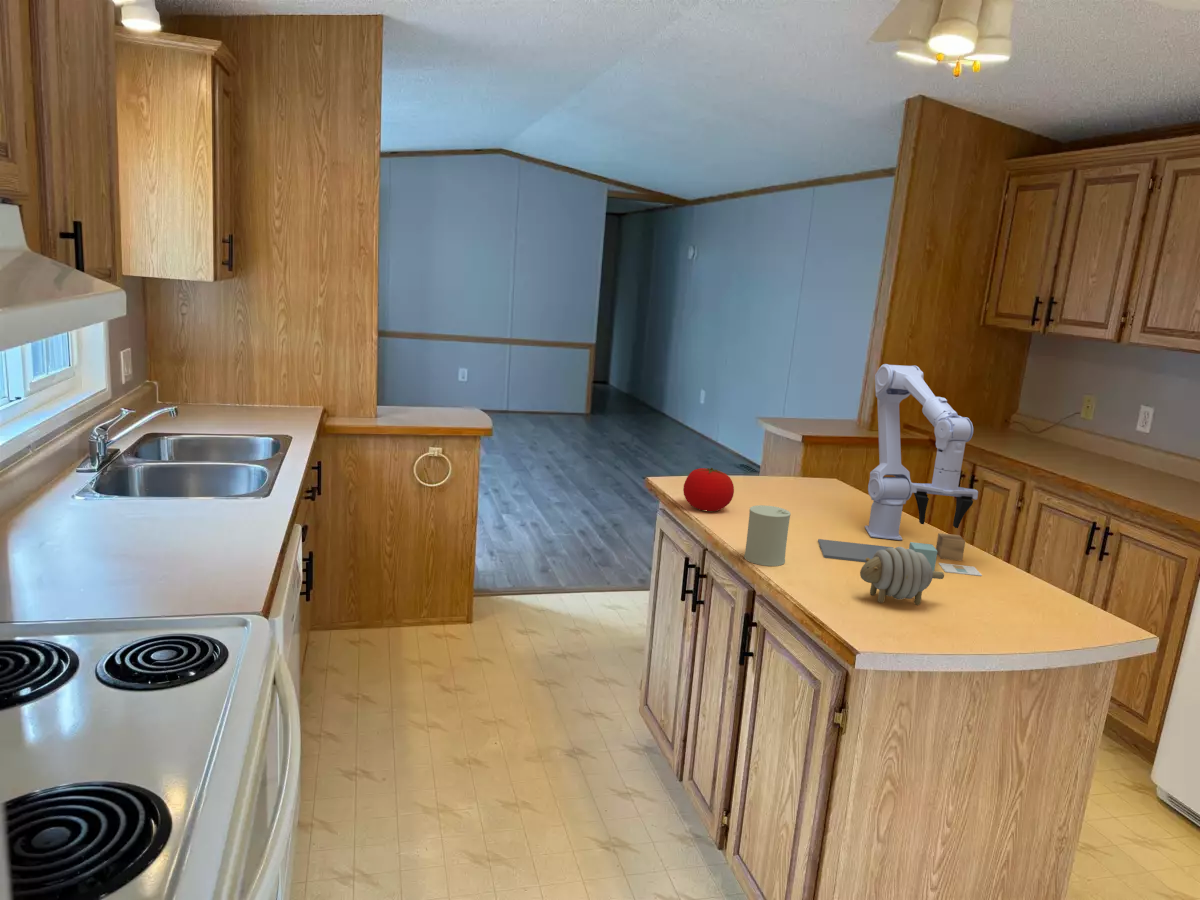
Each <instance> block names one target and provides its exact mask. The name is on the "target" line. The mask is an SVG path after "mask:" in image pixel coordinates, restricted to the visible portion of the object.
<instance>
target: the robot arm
mask: <svg viewBox="0 0 1200 900" xmlns="http://www.w3.org/2000/svg"><path fill="white" fill-rule="evenodd" d="M874 381H875V382H874V384H875V385H874V386H875V389H874V390H875V397H876V398H877V399H876V400H877V422H878V423H877V427H878V429H877V430H878V454H879V455H878V457H879V459H878V460H879V462H878V463H879V464H878V465H877V466H875V468H874V469H872V470H871V471H870V472H869V481H868V486H867V491H868V492H867V493H868V495H869V497H870V499H871V501H873V502H872V504H871V505H870V506H871V507H870V515H869V520H868V525H864V528H865V531H866V532H867V534H868V536H869V537H870V538H877V539H887V540H896V541H903V538H902V536H901V535H900V527H901V520H902V514H903V513H902V512H903V507H904V505H906V504H907V501H909V499H910V498H911V497H912V495H913V494H914V497H915V501H916V506H917V509H918V522H919V524H920V525H924V524H925V523H926V512H927V507H928V505H929V504H928V503H929V500H930V498H929V497H928V496H929V494H930V495H938V496H946V497H948V496H949V497H956V502H955V513H954V516H953V521H952V526H953V527H954V529H959V527H960V524H961V522H962V520H963V518H964V516H965V515H966V513H967V512H968V510H969V509H970V508H971V507H972V506H973V502H974V500H978V495H979V491H978V490H977V489H974V488H966V487H961V486H959V484H960V478H961V472H962V466H963V459H964V456H965V455H964V454H965V449H966V448H965V447H966V443H967V442H970V441H971V439H972V437H973V434H974V426H973V422H972V421H971V420H970V418H969V417H965V416H961V415H958V412H957V411H956V410H954V409H953V407H952V406H951V405H950V404H949V403H948V399H946V398H945V397H941V396H936V395H935V394H934V393H933V391H932V390H931V388H930V386H928V384H927V383H926V382H925V380H924V372H923V371H922V370H921V369H920V367H919V366H917V365H899V364H888V363H884V364H882V365H881V366H880V367H879V368H878V369H877V370H876V373H875V375H874ZM910 396H912V397H913V398H915V399H916V400H917V401H918V402H919V404H920V405H922V409H921V411H922V413H923V415H924V417H926V419H927V420H928V422H929V423H930V424H932V427H934V428H933V429H934V431H933V432H934V436H935V448H937V449H936V456H935V461H934V469H933V475H932V480H931V483H921V482H920V483H919V482H918V483H917V482H912V480H911V472H910V471H909V470H908V469H907V468H906V467H905V466H904V465H903V464H902V452H901V451H902V449H901V448H902V446H901V445H902V444H901V422H900V417H901V416H900V403H901V402H902V401H903V400H906V399H907V398H908V397H910Z"/></svg>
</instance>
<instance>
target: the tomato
mask: <svg viewBox="0 0 1200 900" xmlns="http://www.w3.org/2000/svg"><path fill="white" fill-rule="evenodd" d="M682 488H683V490H682V491H683V495H684V499H685V500H686V502H687V503H688V504H689V505H690V506H691V507H693V508H695V509H696V508H697V510H699V509H700V510H699V511H702V510H707V511H713V512H717V510H718V511H720V510H722V509H724V508H725V507H727V506H728V505H729V504H730V503H731V502H732V501H733V498H734V493H735V486H734V483H733V480H732V479H731V477H730V476H729V475H727V473H726V472H723V470H718V469H715V468H713V467H703V468H702V467H700V468H697V469H693V470H692V471H691V472H689V474H688V475H687V477H686V479H685V481H684V484H683V487H682ZM707 511H706V512H707Z"/></svg>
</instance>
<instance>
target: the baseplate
mask: <svg viewBox="0 0 1200 900" xmlns="http://www.w3.org/2000/svg"><path fill="white" fill-rule="evenodd" d="M817 542H818V545H819V548H820V550H821V553H822V556H823V558H825V559H832V560H833V559H835V560H843V561H850V562H851V561H852V562H860V563H866V562H867V561H866V558H870V559H872V558H873V556H874V554H875V553H876V552H877V551H878V550H885V549H887V548H894V546H893V547H892V546H885V545H878V544H877V545H876V544H868V543H860V542H859V543H856V542H849V541H841V540H833V539H832V540H829V539H822V538H818V540H817Z"/></svg>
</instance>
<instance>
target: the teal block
mask: <svg viewBox="0 0 1200 900" xmlns="http://www.w3.org/2000/svg"><path fill="white" fill-rule="evenodd" d="M908 549H912V550H914V551H915V552H920V553H922V554H923V555H924V556H925V557H926V558H927V560H928V562H929V563H930V565H931V567H932V570H933V571H935V569H936V563H937V557H938V555H937V550H936V546H934V545H933V544H931V543H930V544H929V543H922V542H913V541H910V542H909V547H908Z"/></svg>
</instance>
